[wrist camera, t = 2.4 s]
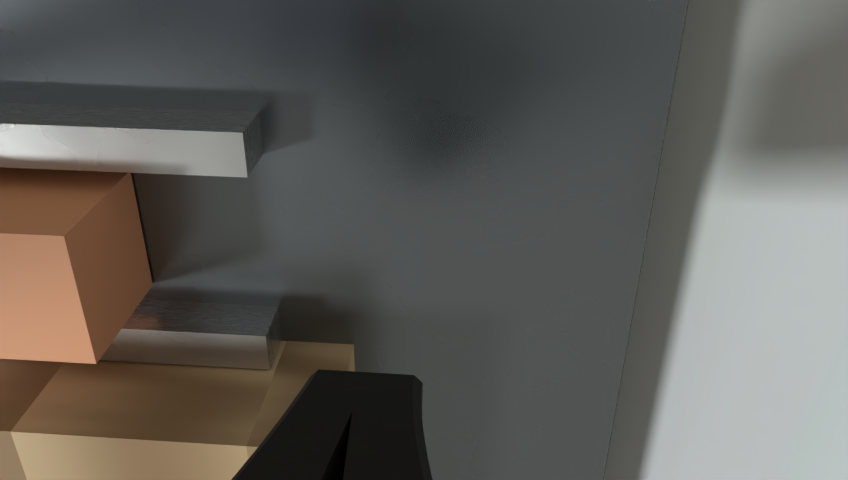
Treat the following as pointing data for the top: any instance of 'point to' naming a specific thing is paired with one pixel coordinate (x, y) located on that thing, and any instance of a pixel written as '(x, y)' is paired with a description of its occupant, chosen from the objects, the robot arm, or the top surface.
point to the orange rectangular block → (68, 262)
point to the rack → (147, 415)
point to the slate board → (375, 191)
